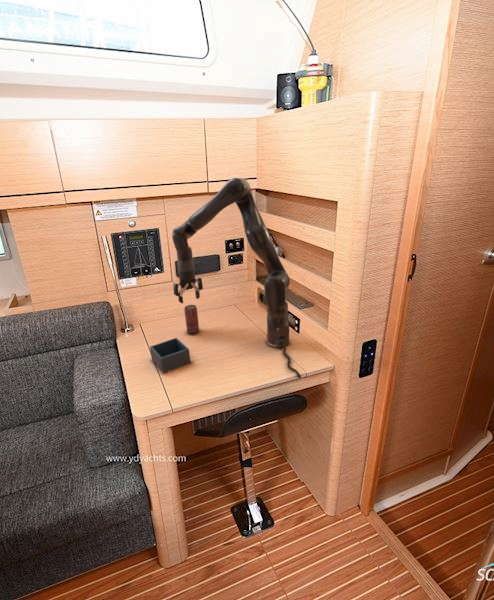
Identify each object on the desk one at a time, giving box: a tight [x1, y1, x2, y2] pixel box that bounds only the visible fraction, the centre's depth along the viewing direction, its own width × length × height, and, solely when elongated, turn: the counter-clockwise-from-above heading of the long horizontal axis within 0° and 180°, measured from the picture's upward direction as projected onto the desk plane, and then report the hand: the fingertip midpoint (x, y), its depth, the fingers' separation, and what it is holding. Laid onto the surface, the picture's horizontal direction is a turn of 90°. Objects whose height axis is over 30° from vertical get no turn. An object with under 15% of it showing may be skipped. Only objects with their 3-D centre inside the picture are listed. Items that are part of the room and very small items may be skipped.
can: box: [183, 304, 200, 336], centre depth 165 cm, size 6×6×14 cm
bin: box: [149, 337, 191, 374], centre depth 143 cm, size 13×13×7 cm
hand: (189, 300), depth 162 cm, fingers open, 8 cm apart
